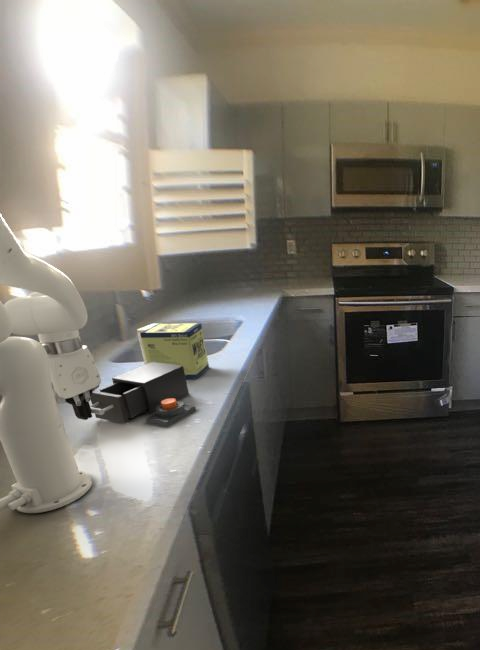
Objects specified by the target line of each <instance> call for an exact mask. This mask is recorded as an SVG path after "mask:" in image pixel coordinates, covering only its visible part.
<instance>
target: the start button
mask: <svg viewBox="0 0 480 650" xmlns="http://www.w3.org/2000/svg"><path fill="white" fill-rule="evenodd" d="M161 405H162V409H172V408H175V407H177V402H176V399H175V398H168V399H165V400H162V401H161Z"/></svg>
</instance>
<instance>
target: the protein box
mask: <svg viewBox="0 0 480 650" xmlns="http://www.w3.org/2000/svg"><path fill="white" fill-rule="evenodd" d="M155 324H156V325H154V326H152V327H150V328H148V329H146V330H145V331H143V332H141V333H140V335H141V339H142V344H143V348H144V353H145V357H146V361H147V364H148V363H150V362H158V363H165V364H173V365H180V366H183V369H184V373H185V378H186V380H198V378H200V376H202V375H203V374H204V373H205V372H206V371H207V370H208V369H209V368H210V365H209V359H208V353H207V349H206V342H205V338H204V332H203V327H202V323H201V322H195V323H194V322H190V323H189V322H188V323H155Z"/></svg>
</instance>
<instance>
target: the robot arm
mask: <svg viewBox="0 0 480 650" xmlns="http://www.w3.org/2000/svg"><path fill="white" fill-rule="evenodd" d="M0 285H2V286H6V287H11V288H16V289H22V290H27V291H31V292H30V293H29V294H27V296H21V297H15V298H11V299H9V300H8V301H6V302H5V303H3V302H2V300H1V299H0V396H1V400H0V443H1V445H2V448H3V450H4V453H5V457H7V461H8V463H9V466H10V468H11V471H12V473H13V475H14V479H15V481H16V482H14V483H12V484H11V489H12V490H11V491H10V492H8V495H6V496H4V497H1V498H0V512H2V511H4V510H6V509H7V508H8V509H9V510H11V511H15V510H16V511H18V512H20V513H25V514H39V513H45V512H51V511H54V510H56V509H61V508H62V507H65V506H67V505H69V504H71V503H74V502H75V501H77V500H78V499H80V498H81V497H82V496H84V495H86V493H87V492H88V491H89V490H90V489H91V487H92V484H93V480H92V477H91V475H90V474H89V473H87V472H85V471H81V470H79V467H78V464H77V462H76V461H77V460H76V459H75V455H74V452H73V449H72V446H71V443H70V440H69V437H68V433H67V431H66V427H65V425H64V421H63V419H62V415H61V412H60V409H59V407H58V405H61V404H66V403H67V404H69V405H71V406H72V409H73V413H74V415H75V416H76V418H77V419H78V420H83V421H87V420H89V419H91V418H92V417H93V413H91V408H90V405H91V404H90V402H91V398H90V396H91V394H92V392H93V391H97V389H98V388H99V387H100V385H101V383H102V379H101V374H100V372H99V368H98V366H97V364H96V362H95V361H96V360H94V357H93V355H92V354H91V351H90V350H89V348H88V346H87V345H83V342H82V338H81V335H80V332H79V330H81V329H83V328H84V327H85V326H86V325H87V322H88V311H87V307H86V305H85V302H84V300H83V299H82V296H81V294H80V293H79V291H78V289H77V288H76V286H75V284H74V283H73V282H72V280H71V279H70V278H69V277H68V276H67V274H65V273H64V272H62V271H61V270H60V269H58V268H56V267H54V266H53V265H51V264H49V263H47V262H46V261H44V260H42V259H40V258H38V257H36V256H33V255H32V254H29V253H28V252H26V251H24V249H23V248H22V246H21V244H20V242H19V241H18V239H17V238H16V236H15V235H14V233H13V232H12V230H11V228H10V227H9V225H8V224H7V222H6V220H5V219H4V218H3V216H2V214H1V213H0ZM11 334H14V335H15V336H11ZM16 335H17V336H16ZM35 335H37V337H38V340H39V341H37V340H36V339H34V338H30V337H27V336H35Z"/></svg>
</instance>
